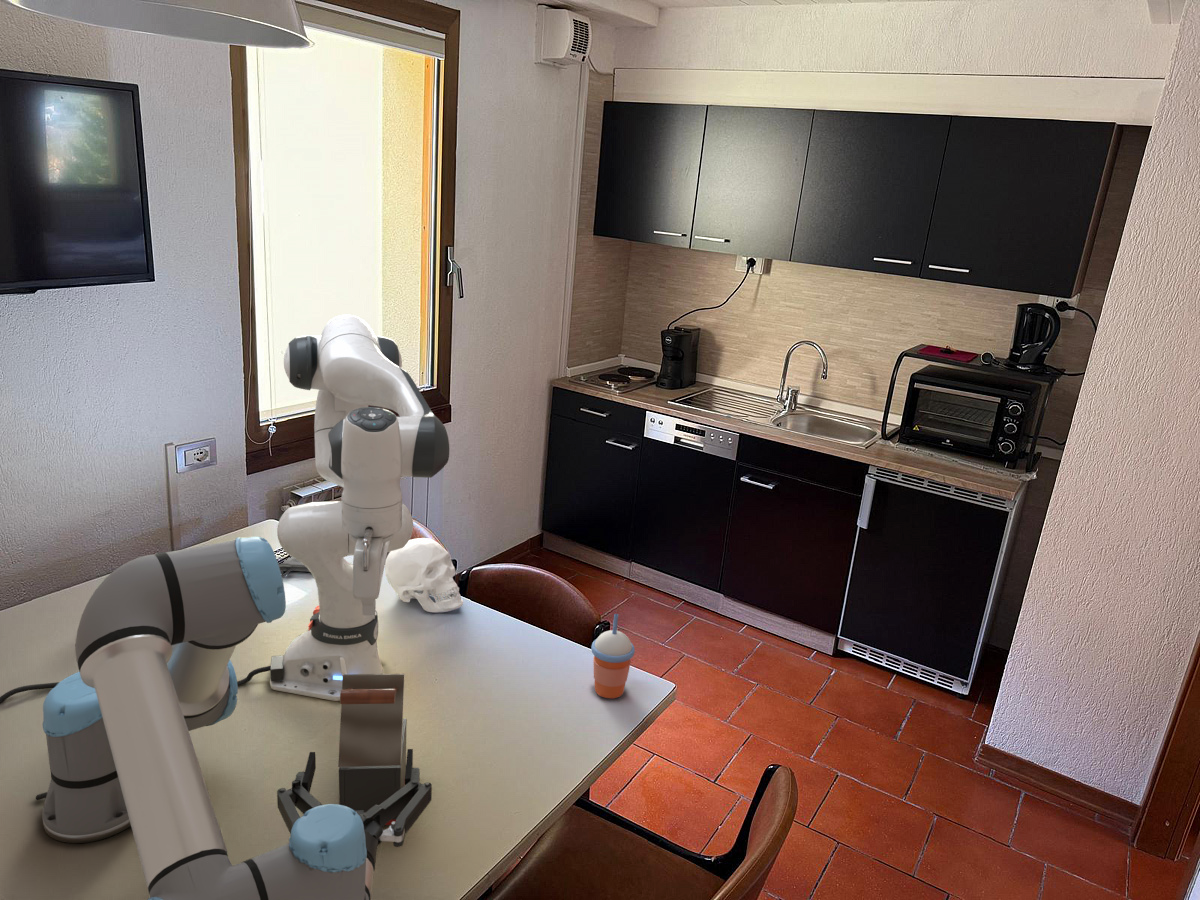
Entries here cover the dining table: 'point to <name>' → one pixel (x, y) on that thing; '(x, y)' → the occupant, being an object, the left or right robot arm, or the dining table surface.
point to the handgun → (292, 566)
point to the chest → (372, 782)
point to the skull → (424, 575)
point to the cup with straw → (611, 661)
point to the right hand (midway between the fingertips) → (372, 598)
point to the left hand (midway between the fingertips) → (361, 758)
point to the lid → (371, 720)
